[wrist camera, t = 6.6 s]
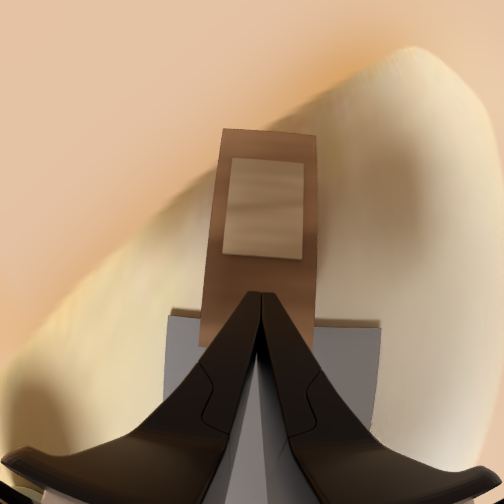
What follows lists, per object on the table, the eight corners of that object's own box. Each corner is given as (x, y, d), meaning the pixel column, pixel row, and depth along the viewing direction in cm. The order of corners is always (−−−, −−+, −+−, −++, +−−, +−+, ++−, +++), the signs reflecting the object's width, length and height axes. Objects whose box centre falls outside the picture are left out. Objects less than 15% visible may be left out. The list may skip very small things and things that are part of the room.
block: (313, 354, 12) (316, 133, 14) (197, 347, 12) (222, 126, 14) (295, 348, 16) (301, 177, 19) (211, 342, 16) (227, 172, 19)
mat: (335, 555, 13) (336, 558, 13) (168, 550, 13) (167, 553, 13) (378, 327, 17) (381, 328, 16) (169, 315, 17) (168, 315, 16)
